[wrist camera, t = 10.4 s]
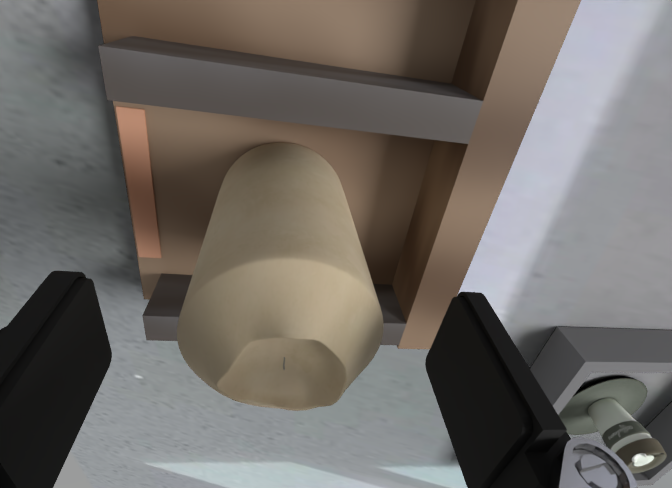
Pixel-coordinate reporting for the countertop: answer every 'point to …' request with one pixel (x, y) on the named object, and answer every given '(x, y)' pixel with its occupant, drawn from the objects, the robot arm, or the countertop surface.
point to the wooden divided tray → (328, 126)
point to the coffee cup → (615, 421)
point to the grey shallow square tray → (607, 356)
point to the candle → (280, 286)
